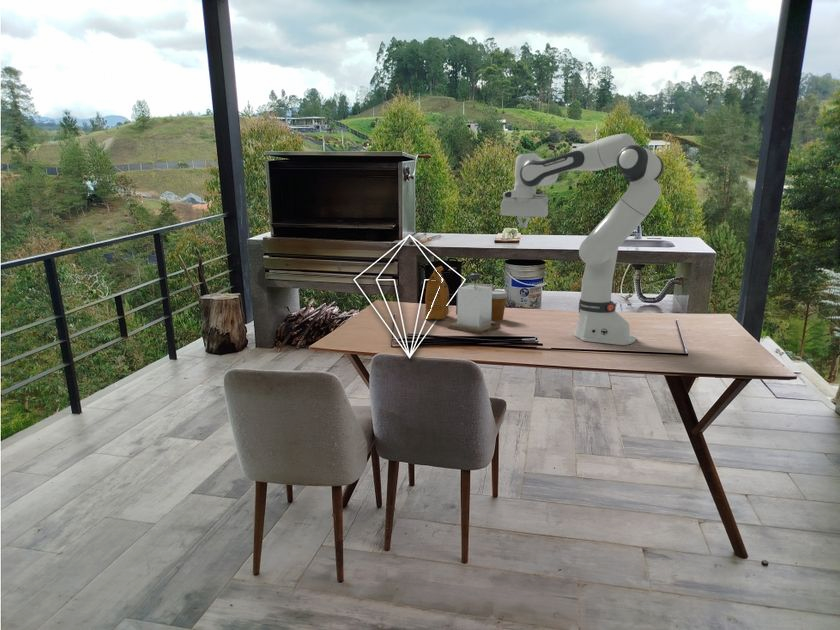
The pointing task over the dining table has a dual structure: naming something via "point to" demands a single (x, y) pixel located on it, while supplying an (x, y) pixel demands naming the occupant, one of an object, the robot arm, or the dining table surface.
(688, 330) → the dining table surface
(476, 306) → the block
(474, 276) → the plunger
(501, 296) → the disposable coffee cup
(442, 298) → the coffee package
